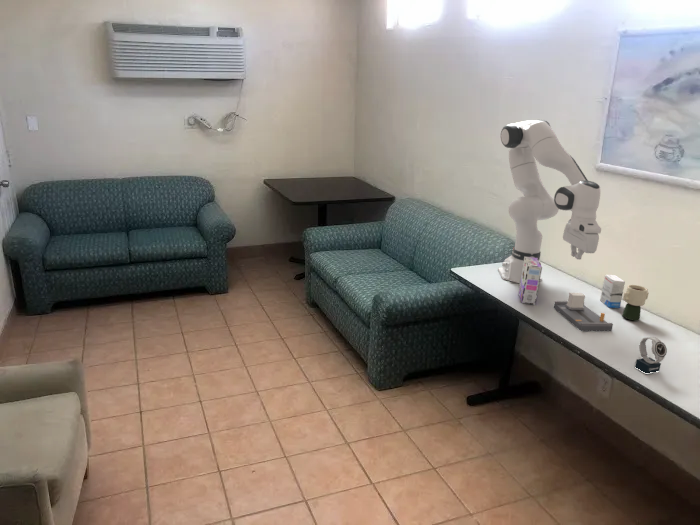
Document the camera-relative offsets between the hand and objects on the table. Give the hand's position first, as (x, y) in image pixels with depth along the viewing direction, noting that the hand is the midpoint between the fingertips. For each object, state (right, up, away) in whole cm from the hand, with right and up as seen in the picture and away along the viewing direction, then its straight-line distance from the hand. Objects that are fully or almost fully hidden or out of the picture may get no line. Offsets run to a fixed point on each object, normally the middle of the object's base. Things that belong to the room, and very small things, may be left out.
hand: (575, 257), depth 217 cm
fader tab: (-1, -20, 0) cm, 20 cm away
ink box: (+19, -20, +13) cm, 30 cm away
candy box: (-15, -17, +13) cm, 27 cm away
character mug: (+21, -24, -2) cm, 32 cm away
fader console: (0, -24, -5) cm, 24 cm away
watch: (+5, -36, -43) cm, 56 cm away
